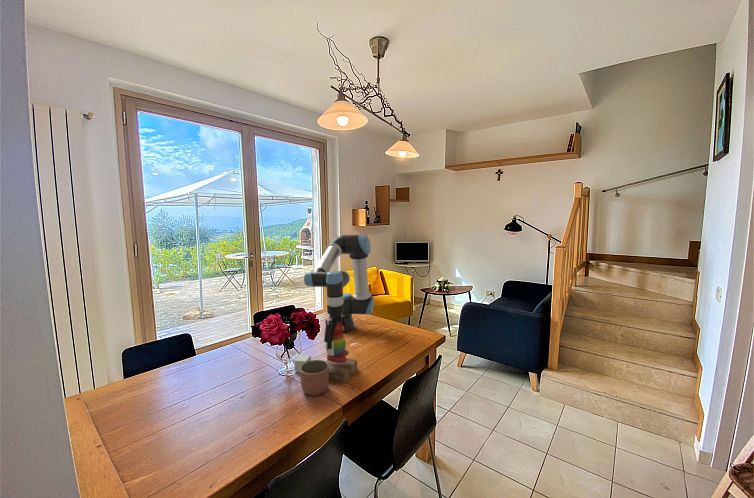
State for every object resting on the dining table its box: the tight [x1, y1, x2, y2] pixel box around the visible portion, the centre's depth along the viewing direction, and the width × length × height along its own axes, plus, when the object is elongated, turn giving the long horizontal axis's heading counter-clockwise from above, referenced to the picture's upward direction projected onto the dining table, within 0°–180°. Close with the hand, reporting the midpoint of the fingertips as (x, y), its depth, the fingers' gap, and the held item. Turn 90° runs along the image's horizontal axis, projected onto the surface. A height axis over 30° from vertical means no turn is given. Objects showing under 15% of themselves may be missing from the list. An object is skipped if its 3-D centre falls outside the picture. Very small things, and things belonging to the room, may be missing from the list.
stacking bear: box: [325, 322, 349, 363], centre depth 144 cm, size 11×10×18 cm
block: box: [293, 354, 312, 374], centre depth 150 cm, size 6×6×6 cm
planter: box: [299, 359, 330, 397], centre depth 132 cm, size 12×12×11 cm
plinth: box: [325, 358, 358, 385], centre depth 146 cm, size 14×14×5 cm
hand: (336, 350), depth 145 cm, fingers closed on stacking bear, 9 cm apart
